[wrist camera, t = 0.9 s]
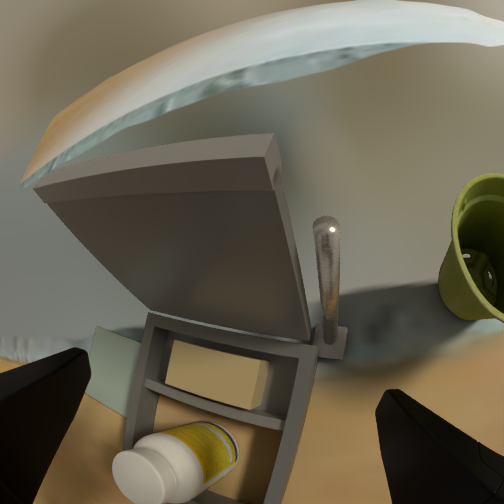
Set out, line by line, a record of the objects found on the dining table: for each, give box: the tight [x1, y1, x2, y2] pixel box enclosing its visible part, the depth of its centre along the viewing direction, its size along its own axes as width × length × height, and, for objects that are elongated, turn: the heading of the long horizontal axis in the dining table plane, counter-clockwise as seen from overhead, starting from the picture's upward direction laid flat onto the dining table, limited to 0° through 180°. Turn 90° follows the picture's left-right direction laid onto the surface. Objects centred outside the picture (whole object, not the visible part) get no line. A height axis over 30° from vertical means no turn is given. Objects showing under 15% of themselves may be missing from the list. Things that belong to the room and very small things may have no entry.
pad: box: [85, 326, 141, 418], centre depth 25 cm, size 8×8×1 cm
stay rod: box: [313, 216, 348, 360], centre depth 15 cm, size 5×2×13 cm, turn 168°
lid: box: [33, 133, 311, 341], centre depth 15 cm, size 14×13×1 cm
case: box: [123, 312, 319, 504], centre depth 19 cm, size 16×14×3 cm
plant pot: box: [438, 173, 504, 323], centre depth 14 cm, size 9×9×9 cm
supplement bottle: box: [112, 421, 239, 504], centre depth 15 cm, size 5×5×10 cm
